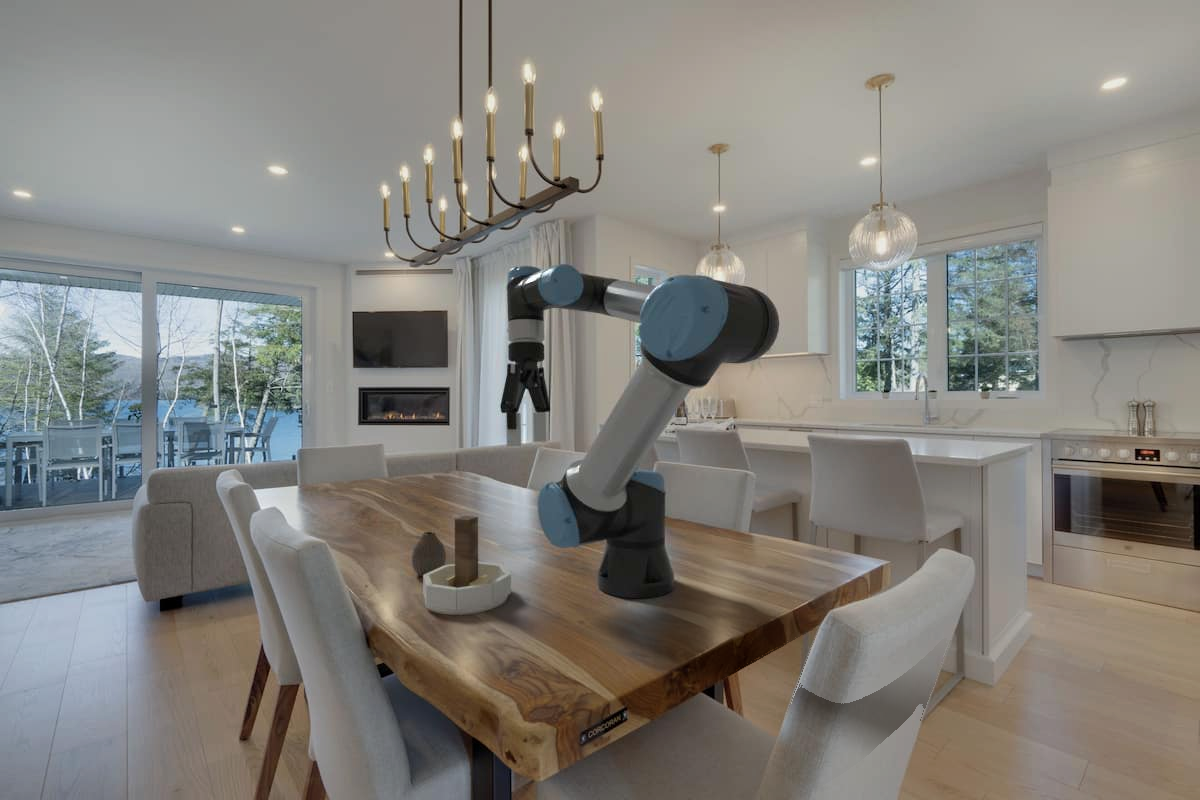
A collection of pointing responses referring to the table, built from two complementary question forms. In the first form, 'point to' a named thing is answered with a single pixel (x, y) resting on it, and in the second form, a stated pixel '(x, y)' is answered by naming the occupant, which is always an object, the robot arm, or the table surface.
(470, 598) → the white octagonal bowl
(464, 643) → the table surface
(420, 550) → the vase
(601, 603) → the table surface
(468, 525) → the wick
